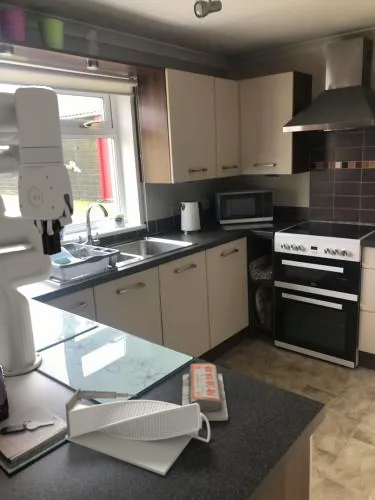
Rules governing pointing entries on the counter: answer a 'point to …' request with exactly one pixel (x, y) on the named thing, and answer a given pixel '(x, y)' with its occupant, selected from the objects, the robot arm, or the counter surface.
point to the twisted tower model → (132, 417)
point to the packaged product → (205, 391)
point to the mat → (136, 449)
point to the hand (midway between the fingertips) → (52, 253)
